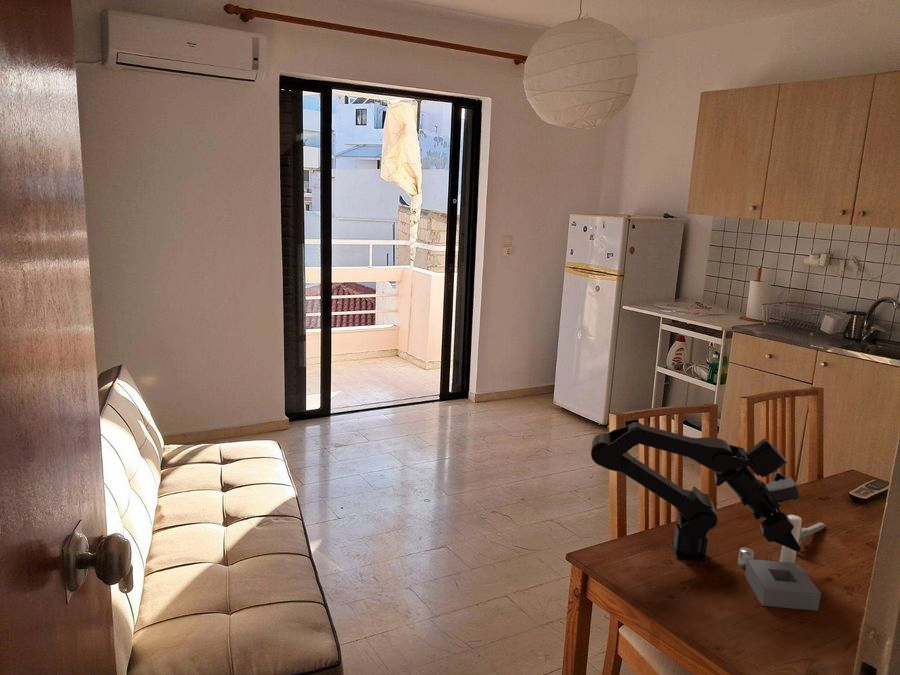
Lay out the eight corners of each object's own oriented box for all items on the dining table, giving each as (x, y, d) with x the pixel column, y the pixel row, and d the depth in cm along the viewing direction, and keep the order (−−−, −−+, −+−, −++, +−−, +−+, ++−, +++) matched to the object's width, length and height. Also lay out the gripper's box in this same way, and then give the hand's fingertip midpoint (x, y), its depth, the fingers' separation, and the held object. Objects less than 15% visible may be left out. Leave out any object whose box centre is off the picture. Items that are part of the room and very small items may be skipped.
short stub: (740, 567, 151) (742, 553, 150) (736, 560, 153) (738, 546, 153) (753, 569, 150) (756, 555, 150) (749, 561, 153) (751, 548, 152)
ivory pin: (781, 571, 150) (790, 520, 147) (776, 564, 153) (784, 514, 150) (795, 572, 149) (804, 521, 147) (790, 565, 152) (798, 515, 150)
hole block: (762, 605, 137) (765, 588, 136) (744, 575, 148) (747, 559, 147) (817, 610, 136) (821, 593, 135) (796, 579, 147) (799, 563, 146)
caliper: (794, 554, 158) (798, 530, 156) (789, 552, 158) (794, 528, 157) (825, 527, 171) (829, 504, 170) (820, 525, 172) (824, 503, 171)
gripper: (789, 485, 138) (839, 541, 138) (769, 451, 156) (813, 501, 156) (743, 514, 141) (792, 569, 141) (729, 478, 159) (772, 527, 159)
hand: (793, 539), depth 149 cm, fingers open, 9 cm apart
